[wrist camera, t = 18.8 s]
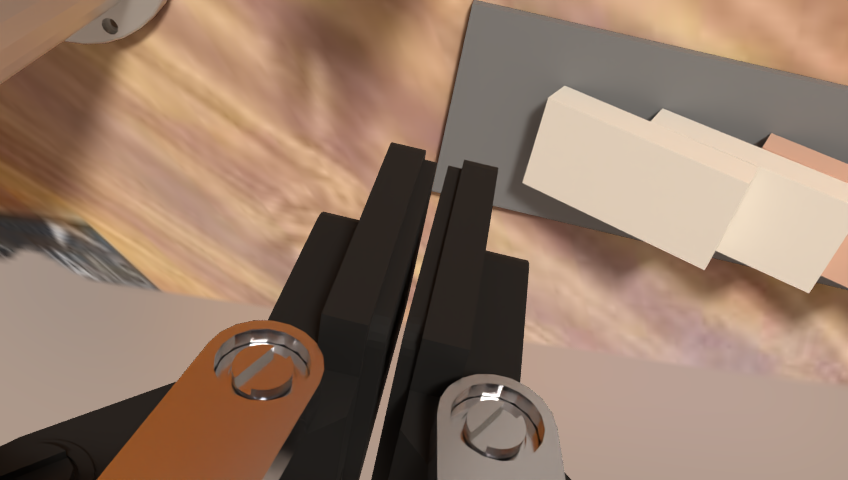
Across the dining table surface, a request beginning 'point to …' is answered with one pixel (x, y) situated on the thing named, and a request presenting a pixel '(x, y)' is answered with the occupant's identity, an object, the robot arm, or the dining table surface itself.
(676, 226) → the domino
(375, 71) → the dining table surface
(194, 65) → the dining table surface
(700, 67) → the mat
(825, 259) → the domino
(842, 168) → the domino
